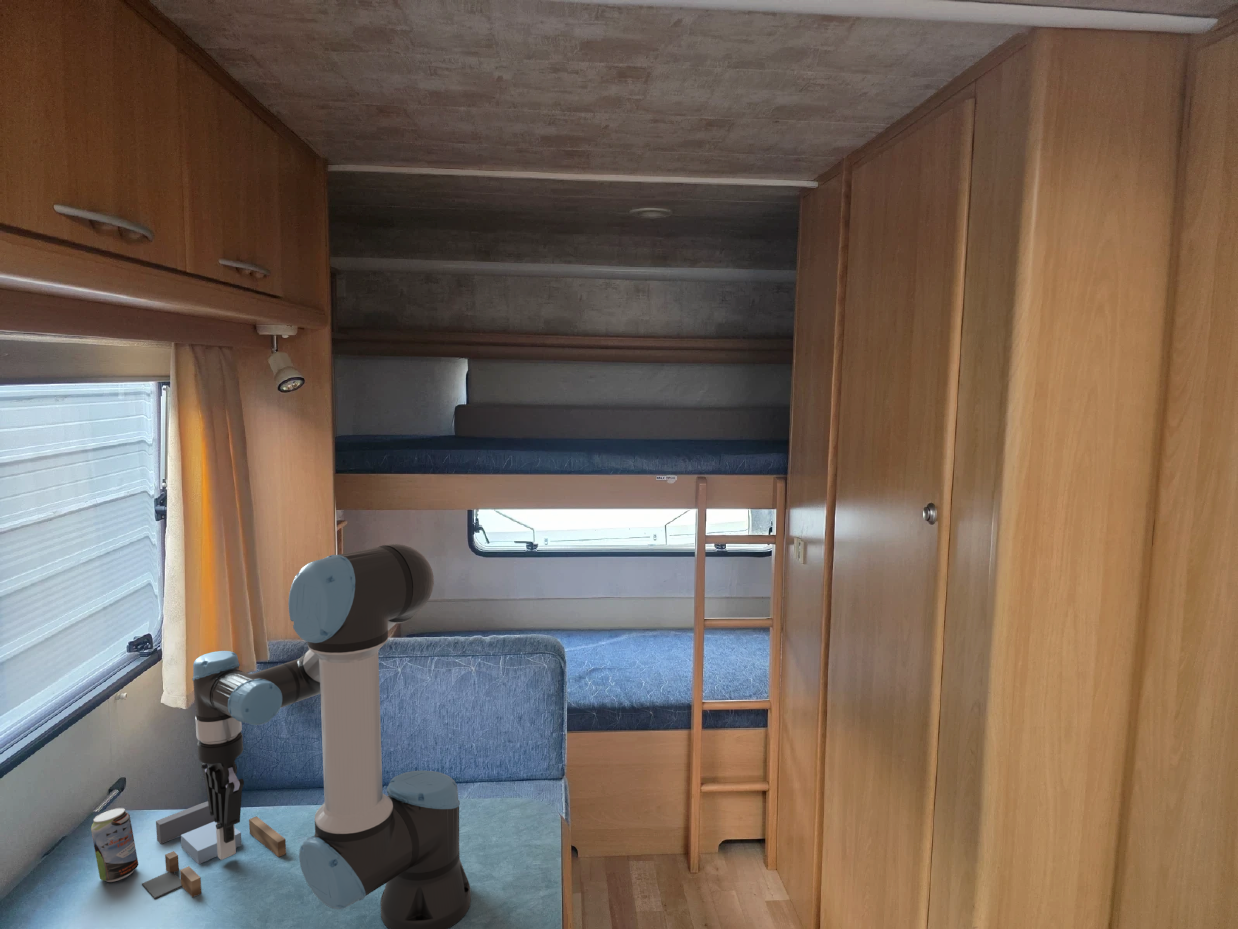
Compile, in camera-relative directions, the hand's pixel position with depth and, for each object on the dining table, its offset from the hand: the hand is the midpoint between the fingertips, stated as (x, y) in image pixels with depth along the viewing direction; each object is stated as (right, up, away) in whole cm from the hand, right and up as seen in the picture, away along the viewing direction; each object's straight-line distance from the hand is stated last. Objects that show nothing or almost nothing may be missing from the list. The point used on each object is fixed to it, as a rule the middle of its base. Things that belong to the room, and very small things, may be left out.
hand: (226, 855), depth 149 cm
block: (-5, -1, +5) cm, 7 cm away
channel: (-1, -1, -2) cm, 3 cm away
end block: (-13, 0, +11) cm, 16 cm away
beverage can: (-18, -2, -4) cm, 19 cm away
